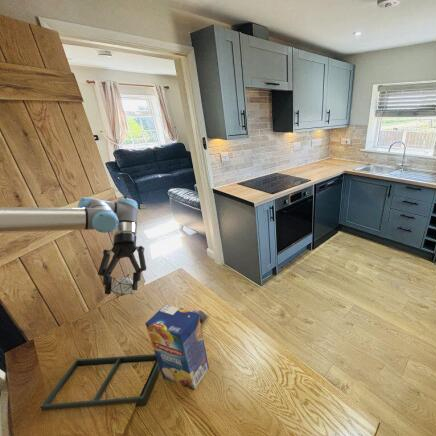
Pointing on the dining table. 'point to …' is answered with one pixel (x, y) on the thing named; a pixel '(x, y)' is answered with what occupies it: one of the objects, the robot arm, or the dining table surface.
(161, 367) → the juice carton
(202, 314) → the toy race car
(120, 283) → the game die
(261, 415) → the dining table surface
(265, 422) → the dining table surface
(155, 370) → the grid
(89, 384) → the dining table surface
